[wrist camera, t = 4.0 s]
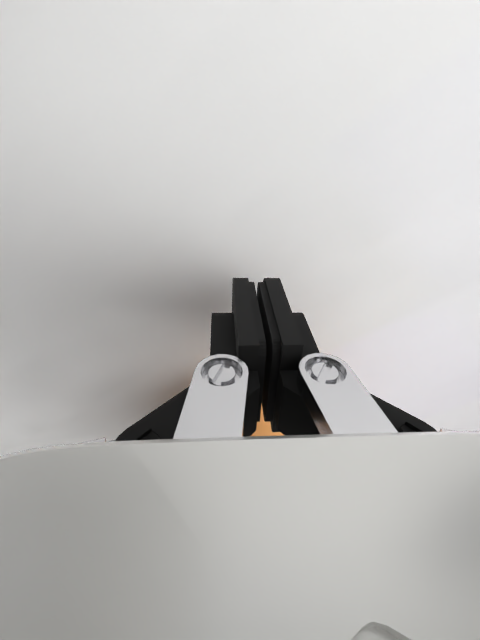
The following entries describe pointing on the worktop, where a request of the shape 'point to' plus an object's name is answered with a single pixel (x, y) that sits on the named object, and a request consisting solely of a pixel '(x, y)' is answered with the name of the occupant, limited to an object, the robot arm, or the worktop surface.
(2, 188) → the worktop surface
